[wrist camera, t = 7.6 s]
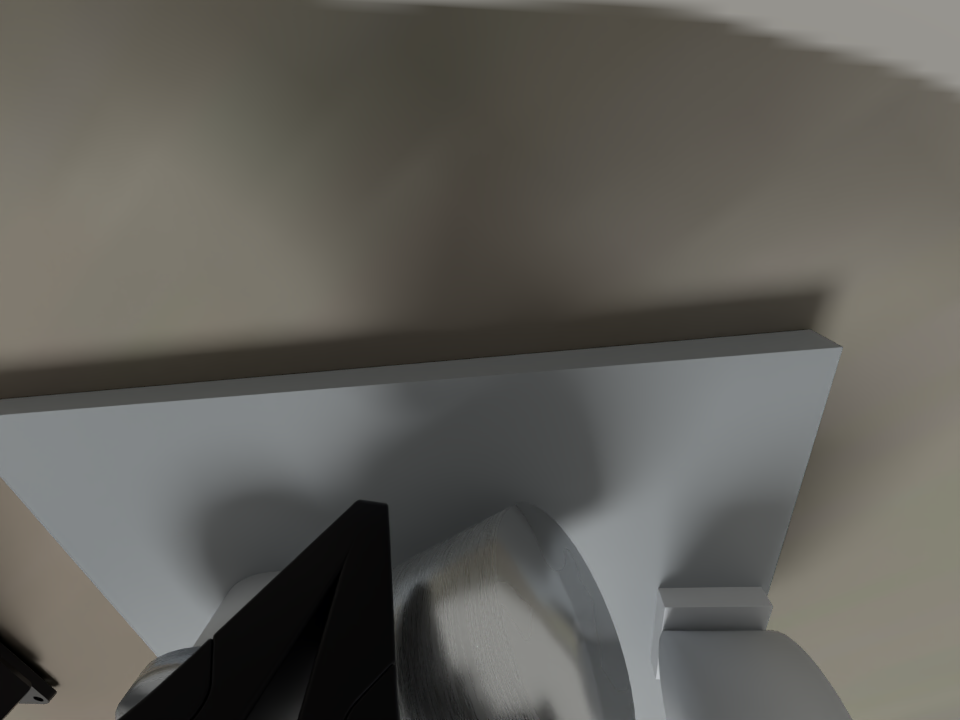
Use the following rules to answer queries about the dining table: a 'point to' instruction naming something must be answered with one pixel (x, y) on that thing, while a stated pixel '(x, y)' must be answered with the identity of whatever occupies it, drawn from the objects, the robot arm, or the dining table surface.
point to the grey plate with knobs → (463, 491)
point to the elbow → (492, 630)
